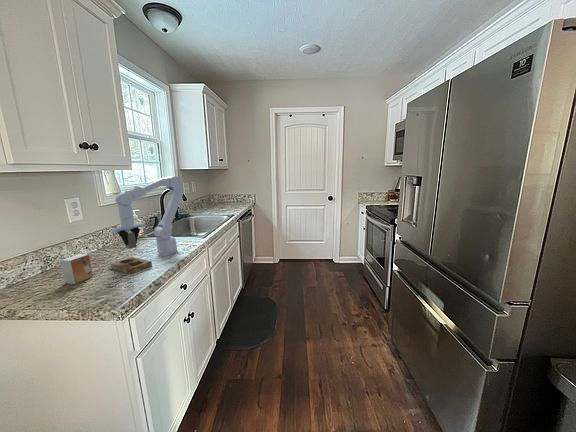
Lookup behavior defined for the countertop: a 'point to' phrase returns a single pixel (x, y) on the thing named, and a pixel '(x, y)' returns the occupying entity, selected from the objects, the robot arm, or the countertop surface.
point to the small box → (76, 268)
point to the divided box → (131, 265)
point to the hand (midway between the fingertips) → (130, 243)
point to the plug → (131, 240)
